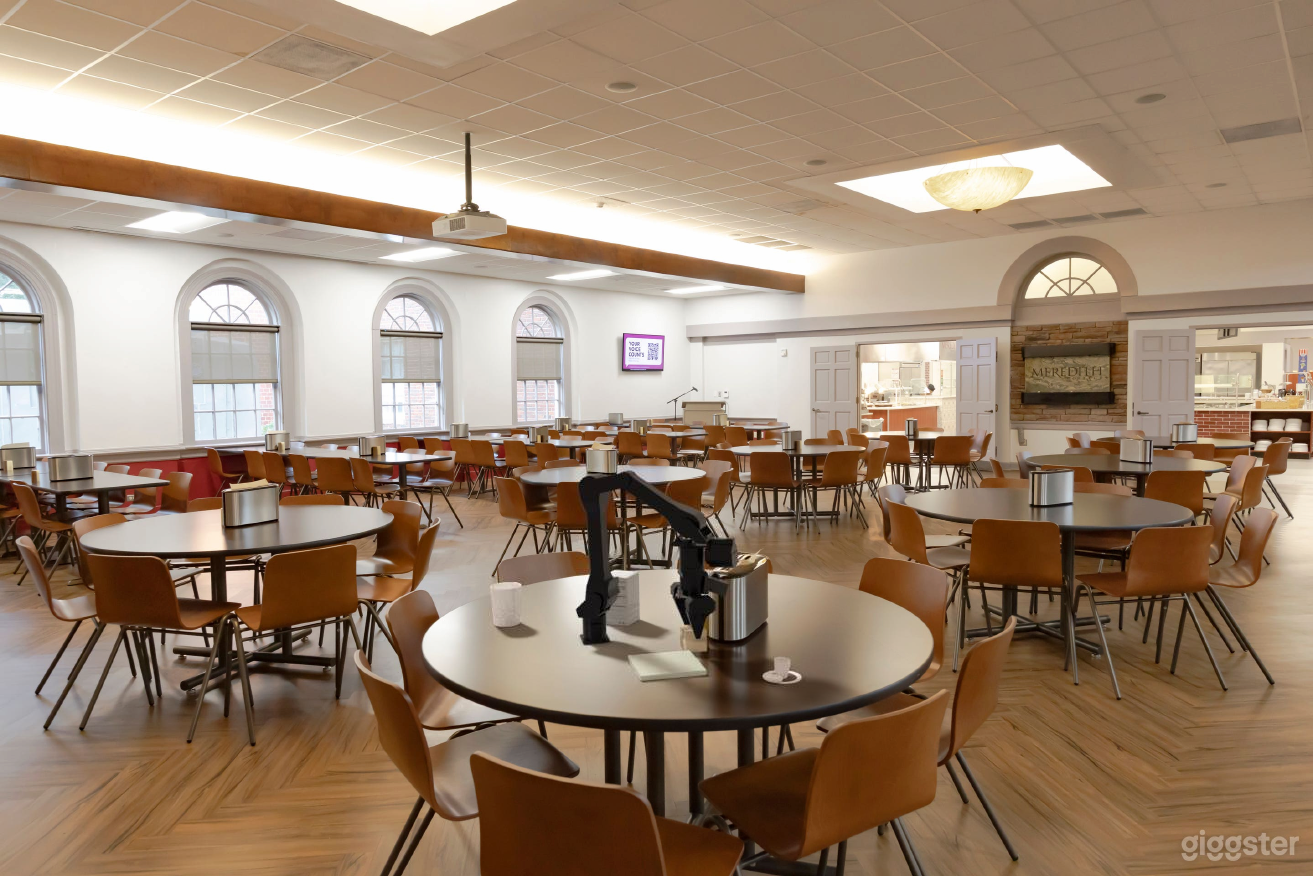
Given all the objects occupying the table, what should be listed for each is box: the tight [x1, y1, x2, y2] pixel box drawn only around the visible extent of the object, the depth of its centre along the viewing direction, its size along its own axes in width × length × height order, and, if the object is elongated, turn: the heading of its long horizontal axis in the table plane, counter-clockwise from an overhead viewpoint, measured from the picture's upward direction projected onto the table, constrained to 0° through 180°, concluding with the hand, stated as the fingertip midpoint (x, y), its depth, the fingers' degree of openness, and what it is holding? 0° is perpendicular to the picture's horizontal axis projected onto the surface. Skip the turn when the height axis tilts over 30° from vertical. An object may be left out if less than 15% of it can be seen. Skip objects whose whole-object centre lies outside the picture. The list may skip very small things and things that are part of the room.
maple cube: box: [679, 624, 708, 653], centre depth 190 cm, size 5×5×5 cm
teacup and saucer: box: [762, 656, 803, 685], centre depth 170 cm, size 9×8×4 cm
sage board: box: [627, 650, 707, 682], centre depth 177 cm, size 14×14×1 cm
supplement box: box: [605, 569, 641, 627], centre depth 213 cm, size 7×7×13 cm
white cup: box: [490, 581, 522, 628], centre depth 213 cm, size 8×8×10 cm
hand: (692, 633), depth 190 cm, fingers open, 9 cm apart
